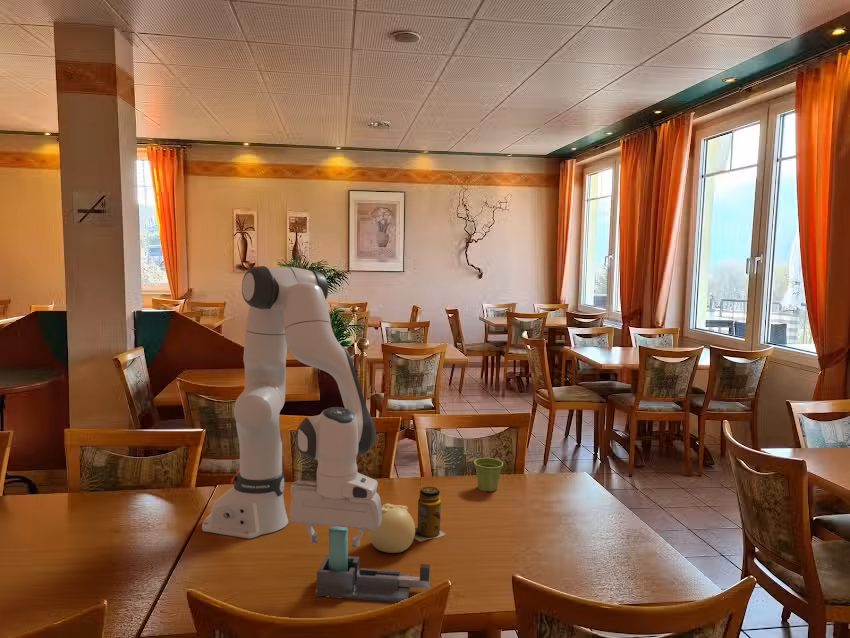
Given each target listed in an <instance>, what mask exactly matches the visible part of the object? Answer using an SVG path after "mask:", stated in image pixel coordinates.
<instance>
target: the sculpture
mask: <svg viewBox="0 0 850 638" xmlns="http://www.w3.org/2000/svg"><path fill="white" fill-rule="evenodd" d="M381 507H382V521H381V524H380V526H379V527H378V528H377V529H376V530H368V529H366V530H367V532H368V536H369V539H370V541H371V543H372V545H373V546H374V548H375V549H376V550H378V551H381V552H384V553H390V554H394V553H395V554H396V553H397V554H398V553H401V552H404V551H406V550H407V549H409V548H410V547H411V545H412V544H413V542H414V539H415V538H414V536H415V528H416V527H415V526H416V525H415V521H414V519H413V517H412V516H411V514H410V513H409V507H408V506H407V505H401V504H397V505H396V504H392V503H385V504H384V503H383V505H382V504H381Z"/></svg>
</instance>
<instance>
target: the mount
mask: <svg viewBox="0 0 850 638" xmlns="http://www.w3.org/2000/svg"><path fill="white" fill-rule="evenodd" d="M376 574H381V575H396V576H412V577H413V574H409V573H408V574H407V573H401V570H396V569H395V570H394V569H383V568H382V569H379V568H367V567H366V568H365V567H363V568H362V567H360V556H352V555H351V556H350V555H348V571H333V570H329V554H325V556H324V557H323V559H322V562H321V564H320V565H319V567H318V569H317V571H316V589H315V591H314V596H315V595H316V596H329V597H341V598H340V599H344V598H352V599H351V600H359V599H362V600H361V601H375V602H376V601H377V602H389V603H390V602H391V603H400V602H399V601H401V600H404V599H407V598H408V599H409V597H410V593H411V592H410V591H411V588H412V587H401V586H398V577H383V576H375V575H376ZM329 597H328V598H329ZM363 599H364V600H363Z"/></svg>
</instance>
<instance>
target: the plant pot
mask: <svg viewBox="0 0 850 638" xmlns="http://www.w3.org/2000/svg"><path fill="white" fill-rule="evenodd" d="M473 464H474V466H475V470H476V481H477V488H478V489H479V490H480V491H481V492H486V491H489V492H495V490H496V491H497V490H498V486H499V480H500V474H501V471H502V467H504V462H503V461H502V460H500V459H497V458H492V457H478V458H477V459H475V460H474V461H473ZM489 492H488V493H489Z"/></svg>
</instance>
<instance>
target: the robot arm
mask: <svg viewBox="0 0 850 638" xmlns="http://www.w3.org/2000/svg"><path fill="white" fill-rule="evenodd" d="M241 294H242V297H243V300H244V302H246V303H247V305H248V306H249V309H248V313H247V318H246V322H245V323H246V325H245V326H246V327H245V334H244V346H243V347H244V348H243V365H244V389H243V391H242V392H241V394H239V395H238V397H237V398H236V400H235V403H234V410H233V416H234V420H235V425H236V432H237V438H238V443H239V469H238V470H237V471H236V474H234V475H233V477H232V479H231V480H230V481H231V482H230V484H231V485H233V486H232V487H231V488H229V489H228V490H227V491H225V492H224V493H222V495H221V496H219V497H218V498H217V499H216V500H215V502H214V504H213V505H212V509H211V513H210V514H209V515H208V516H206V518H205V519H204V520H203V521H202V523H201V531H202V532H206V533H211V534H213V533H214V534H219V535H225V536H231V537H238V538H243V539H254V538H256V537H259V536H262V535H266V534H270V533H274V532H277V531H280V530H281V529H283V528H285V527H286V526H287V525H288V524H289V519H290V521H291V522H292V523H297V524H304V529H305V530H306V532H307V533H308V536H309V543H310V544H311V543H313V544H316V543H317V542H318V541H319V532H318V531H317V532H315V529H314V528H313V526H314V525H317V526H327V527H332V526H337V527H347V528H348V529H351V528H352V529H356V530H357V531H356V532H357V533H358V534H357V535H354V536H353V537H352V539H351V547H353V548H354V547H355V548H359V547H360V543H361V538H362V536H363V535H364V532H365V530H367V529H368V530H376V529H377V528H378V527H379V526H380V524H381V521H382V507H381V506H382V501H381V496H380V495H379V493H378V492H377V491H378V486H379V483H378V480H376V479H374V478H372V477H370V476H367V475H364V474H363V473H360V472H358V471H359V470H358V464H357V456H358V455H365V454H366V453H367V452H368V451H369V450H370V449H371V447H372V446H373V445H374V443H375V441H376V438H377V430H376V425H375V422H374V420H373V417H372V416H371V414H370V411H369V410H368V407H367V403H366V401H365V397H364V393H363V392H362V388H361V385H360V382H359V378H358V375H357V372H356V369H355V365H354V362H353V359H352V357H351V355H350V352H349V351H348V349H347V348H346V347H344V346H343V345H341V343H340V342H339V341H338V339H337V337H336V335H335V334H334V331H333V327H332V321H331V315H330V311H329V306H328V303H327V299H328V295H329V284H328V281H327V278H326V277H325V275H324V274H323V273H321V272H319V271H317V270H314V269H311V268H309V269H308V268H307V269H305V268H300V267H295V266H294V267H293V266H265V265H260V266H253V267H250V268H249V269H248V270H247V271H246V273H245V274H244V275H243V278H242V282H241ZM288 351H289V353H290V355H292V357H293V358H294V359H295V360H297V361H298V362H300V363H302V364H303V365H306V366H309V367H312V368H315V369H319V370H322V371H324V372H326V373H328V374H329V375H330V376H331V377H333V378H334V381H335V382H336V384H337V387H338V390H339V393H340V396H341V400H342V403H343V406H344V407H340V406H333V407H331V406H330V407H328V408H326V409H324V410H322V412H321V413H320V414H318V415H313V416H308V417H305V418H303V420H302V421H301V422H300V423H299V425H298V426H297V428H296V436H295V437H296V439H295V440H296V448H297V450H298V452H299V453H301V454H302V455H303V456H305V457H306V458H308V459H309V460H316V461H317V468H316V480H304V479H297V481H294V482H292V483H291V484H290V490H289V491H290V497H291V502H290V506H289V516H288V515H287V511H286V506H285V501H284V500H285V499H284V491H285V475H284V472H285V471H283V442H282V439H281V432H280V431H281V430H280V413H281V410H283V407H284V405H285V402H286V391H287V390H286V386H287V383H286V382H287V366H286V365H287V354H288ZM368 530H367V531H368Z"/></svg>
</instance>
